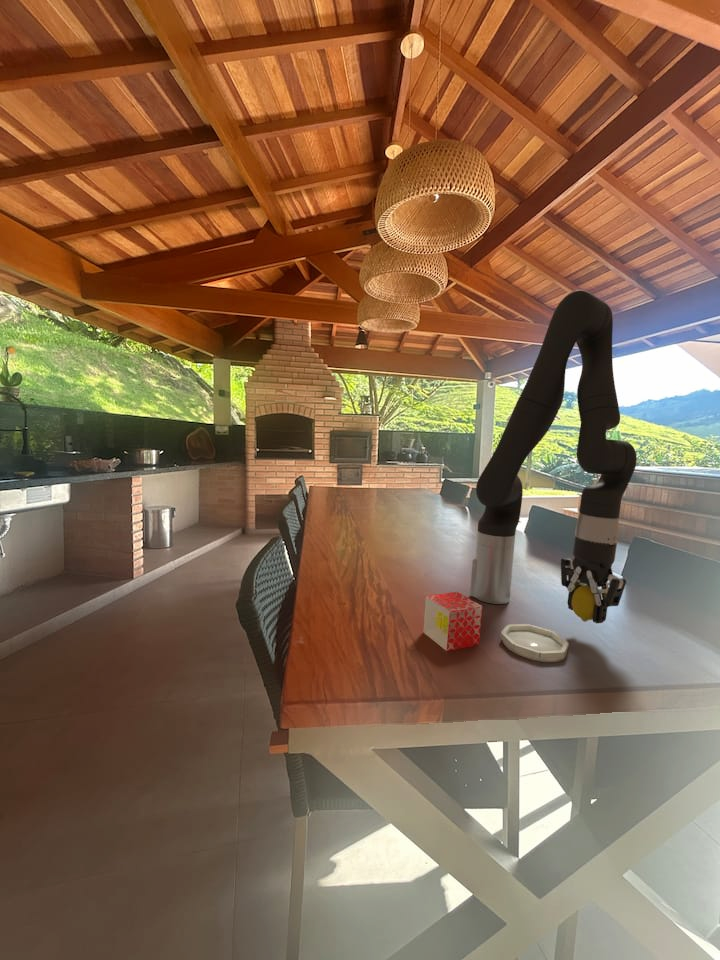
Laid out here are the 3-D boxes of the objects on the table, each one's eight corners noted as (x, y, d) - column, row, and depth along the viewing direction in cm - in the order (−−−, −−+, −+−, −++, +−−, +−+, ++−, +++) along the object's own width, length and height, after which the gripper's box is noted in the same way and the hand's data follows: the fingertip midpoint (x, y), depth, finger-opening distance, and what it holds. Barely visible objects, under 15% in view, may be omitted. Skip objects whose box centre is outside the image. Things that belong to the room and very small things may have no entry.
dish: (494, 647, 78) (495, 638, 78) (511, 627, 87) (512, 619, 87) (560, 669, 71) (561, 660, 71) (570, 645, 81) (571, 636, 80)
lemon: (598, 630, 80) (603, 592, 79) (567, 621, 83) (572, 584, 82) (600, 620, 85) (605, 584, 84) (571, 613, 88) (575, 577, 87)
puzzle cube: (423, 632, 83) (425, 595, 82) (454, 627, 86) (456, 591, 85) (446, 651, 76) (449, 611, 75) (479, 644, 79) (482, 606, 78)
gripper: (554, 528, 88) (545, 602, 89) (613, 547, 74) (601, 634, 76) (580, 528, 90) (571, 600, 92) (643, 546, 76) (630, 630, 78)
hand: (585, 615), depth 84 cm, fingers closed on lemon, 5 cm apart
